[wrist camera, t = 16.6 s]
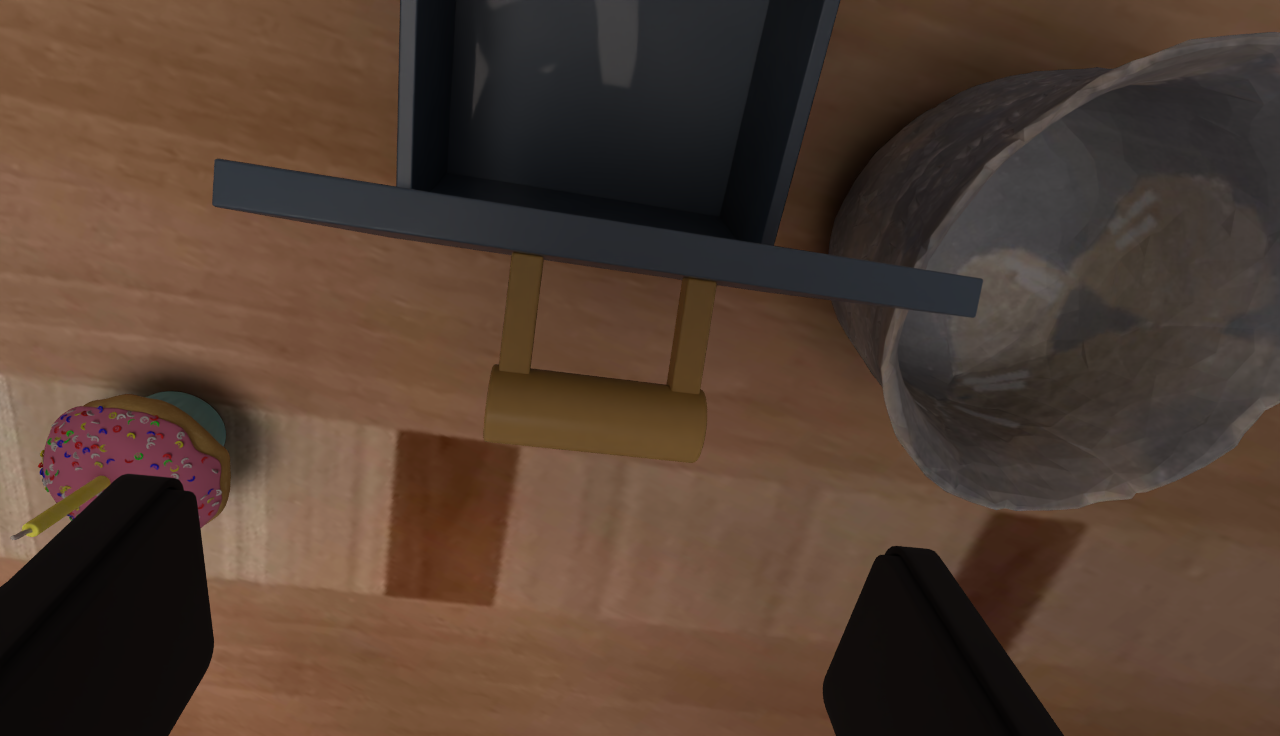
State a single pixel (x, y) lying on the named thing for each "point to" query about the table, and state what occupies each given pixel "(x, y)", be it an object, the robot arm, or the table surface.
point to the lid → (586, 404)
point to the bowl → (1081, 274)
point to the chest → (612, 106)
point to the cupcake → (134, 452)
